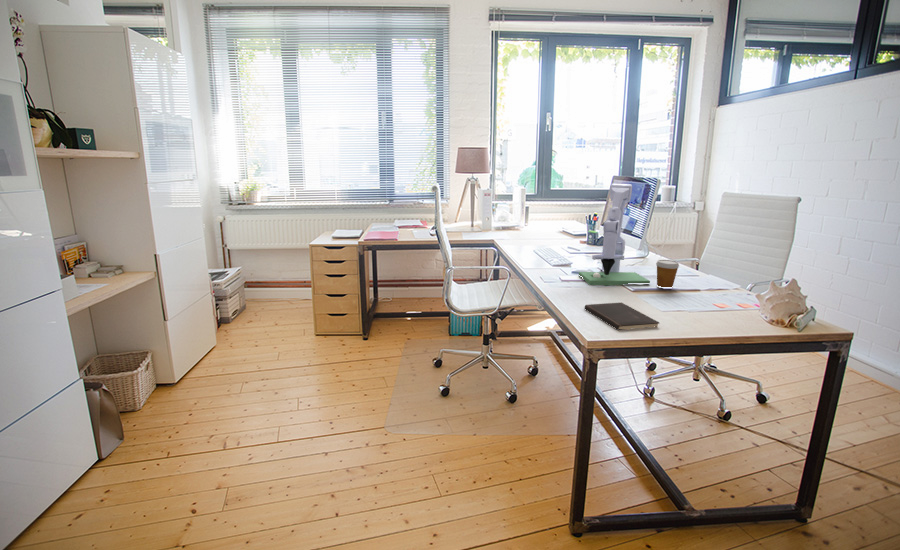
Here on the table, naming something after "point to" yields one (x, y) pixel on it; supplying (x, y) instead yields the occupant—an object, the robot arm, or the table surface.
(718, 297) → the table surface
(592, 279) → the putting mat
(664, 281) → the disposable coffee cup
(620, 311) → the hardcover book
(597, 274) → the ball
